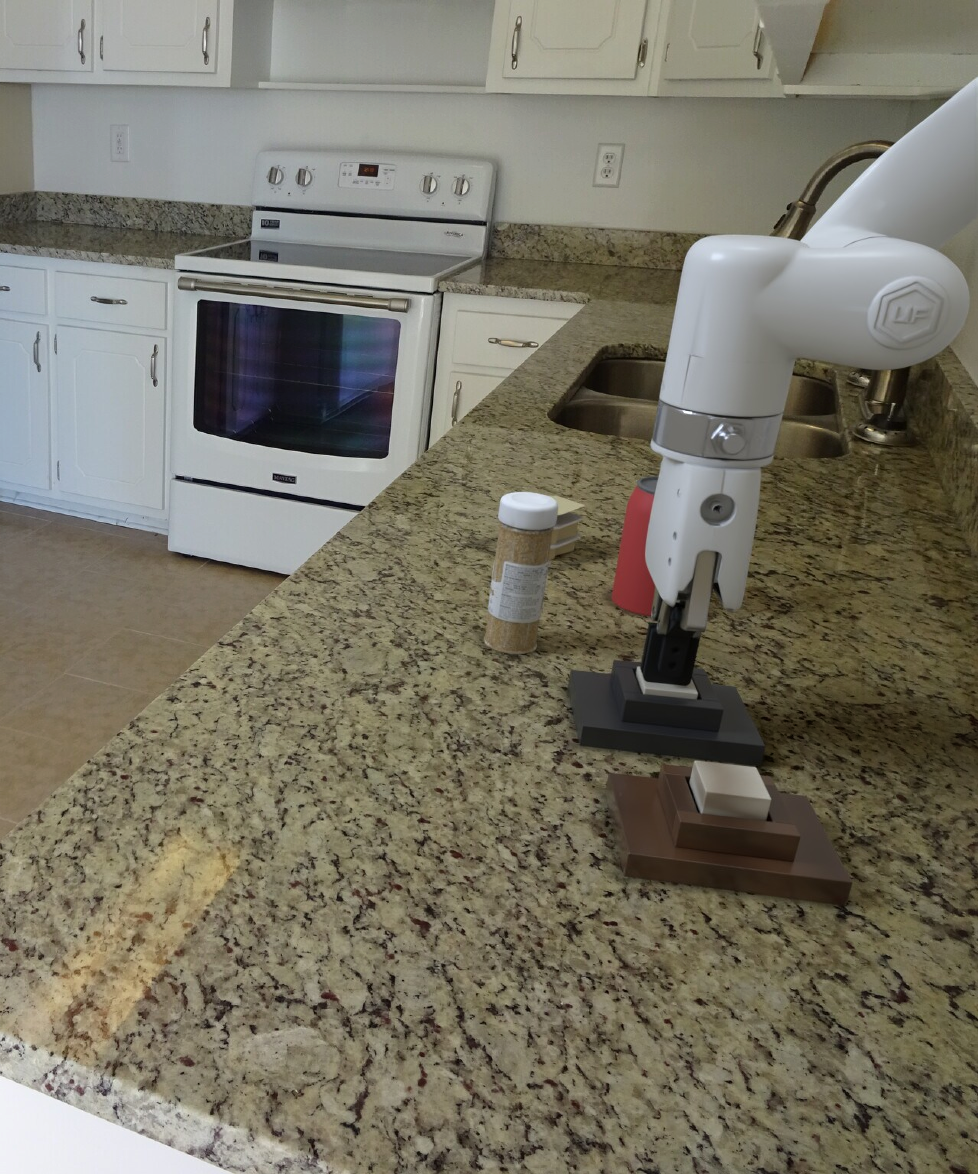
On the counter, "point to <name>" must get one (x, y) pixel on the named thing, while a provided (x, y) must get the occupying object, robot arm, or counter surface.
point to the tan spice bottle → (520, 571)
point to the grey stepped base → (663, 718)
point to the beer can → (635, 552)
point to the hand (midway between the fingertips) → (664, 678)
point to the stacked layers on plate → (565, 527)
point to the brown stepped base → (723, 841)
